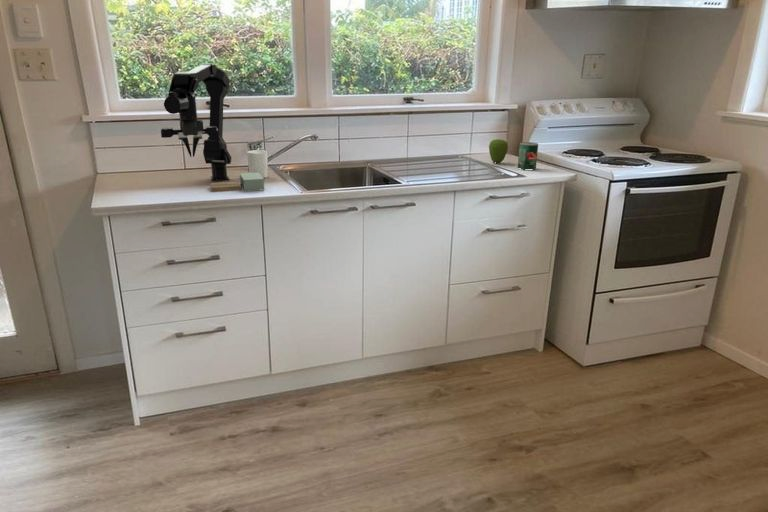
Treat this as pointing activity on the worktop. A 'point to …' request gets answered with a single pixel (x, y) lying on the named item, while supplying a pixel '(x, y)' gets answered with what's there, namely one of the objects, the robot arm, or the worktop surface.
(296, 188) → the worktop surface
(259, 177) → the green channel beam
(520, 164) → the canned tomato
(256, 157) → the white cup
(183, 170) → the worktop surface
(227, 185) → the board
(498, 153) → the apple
